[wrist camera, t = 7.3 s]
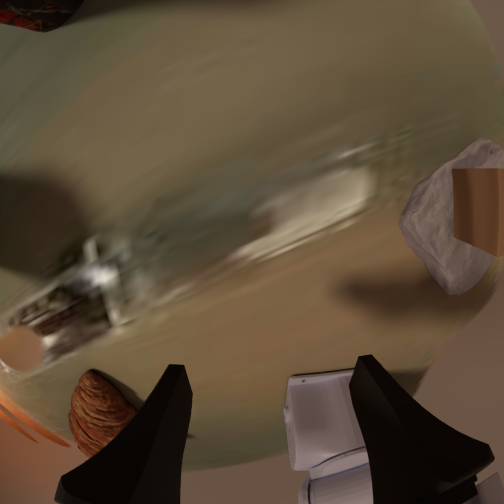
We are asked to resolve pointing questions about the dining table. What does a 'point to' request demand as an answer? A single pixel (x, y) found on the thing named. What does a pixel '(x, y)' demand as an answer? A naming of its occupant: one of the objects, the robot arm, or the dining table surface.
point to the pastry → (97, 413)
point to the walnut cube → (479, 208)
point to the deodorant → (37, 13)
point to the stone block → (448, 222)
